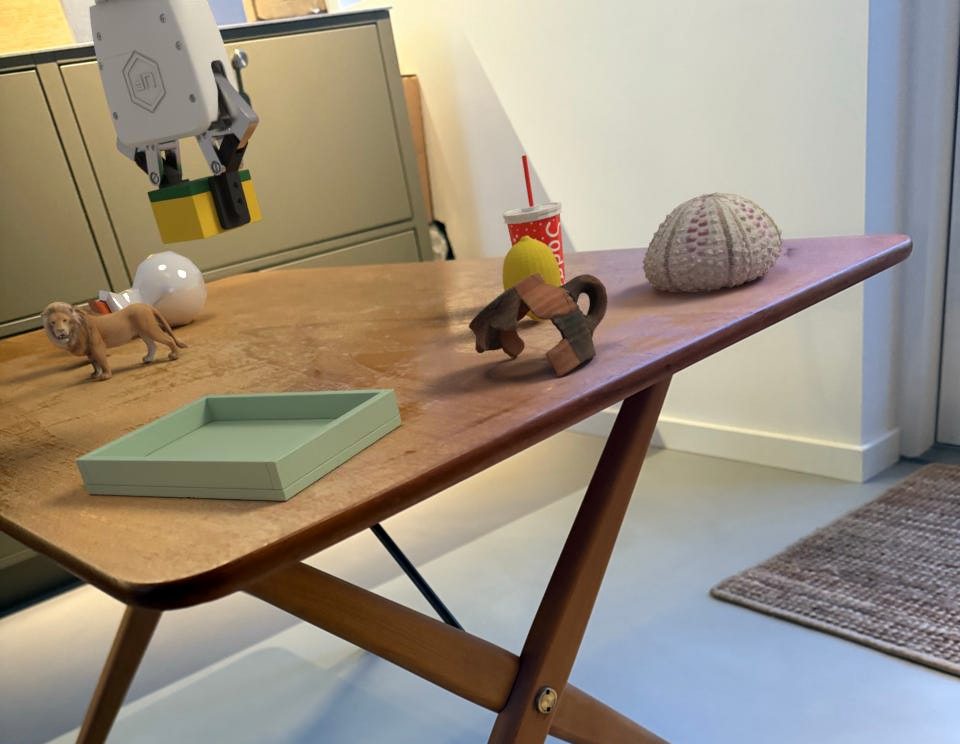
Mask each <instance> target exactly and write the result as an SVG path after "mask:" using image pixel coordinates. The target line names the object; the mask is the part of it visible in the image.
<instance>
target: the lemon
mask: <svg viewBox="0 0 960 744" xmlns="http://www.w3.org/2000/svg"><path fill="white" fill-rule="evenodd" d="M536 273H540V274H541V276H542V278H543V280H544V281H545V283H547V284H550V285H555V286H557V287H559V286H561V275H560V270H559V266H558V263H557V261H556V258H555V256H554V254H553V252H552V251H551V249H550V248H549V247H548V246H547V245H545V244H544V243H542V242H540V241H538V240H534V239H531V238H530V237H529V236H524V237H522V238H521V239H520V241H519V242H518V243H516V244H515V245H514V246H513V247H512V246H511V247H510V249H509V250H508V252H507V253H506V255H505V258H504V259H503V265H502V286H503V290H504V291H503V292H505V291H506V290H508V289H509V288H512V287H513V286H514V285H516V284H517V283H518V282H520V281H522V280H523V279H525V278H527V277H528V276H531V275H533V274H536ZM526 316H527V317H529V318H530V319H531V320H532V321H534V322H537V323H538V322H540V321H541V322H542V319H540V318H538V317H537V316H535V315H533V314H532V313H531V311H529V312H528V313H527V314H526ZM526 316H525V317H526Z"/></svg>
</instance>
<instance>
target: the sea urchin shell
mask: <svg viewBox="0 0 960 744" xmlns="http://www.w3.org/2000/svg"><path fill="white" fill-rule="evenodd" d="M782 234H783V231H782V230H781V229H779V225H778V223H776V222H775V221H774V219H773V218H772V217H771V216H770V214H769V213H768V212H766V210H765V209H764V208H762V207H761V206H760V205H758V204H757V203H755V202H754V201H752V200H751V199H748V198H746V197H745V196H742V195H738V194H734V193H733V194H732V193H728V192H727V193H726V192H716V191H715V192H713V193H706V194H705V193H704V194H703V193H702V194H701V195H699V196H696V197H692V198H691V199H689V200H686V201H684V202H682V203H680V204H678V205H677V207H675V208H673V210H672V211H671V212H670V213H669V214H666V215H665V219H664V221H663V222H661V223H659V224H658V229H657V231H656V232H653V237H652V239H651V240H650V242H649V244H648V248H647V250H646V252H645V253H644V258H643V260H642V264H643V266H642V269H643V272H644V274H645V275H644V278H645V279H647V281H648V283H649V284H651V285H652V286H654V288H656V290H661V291H662V292H663V291H666V290H667V291H668V292H670V293H672V292H677V293H680V292H689V293H693V292H694V293H697V292H699V293H700V292H703V291H707V292H711V291H715V290H720V288H724V287H727V288H733V287H734V286H737V287H738V286H740V285H743V284H744V282H747V283H749V282H751V281H755V280H756V279H757V278H758V277H762V276H763V274H768V273H769V270H770V268H772V267H774V266H776V261H777V260H778V258H779V257H780V256H781V255H780V253H781V252H782V251H783V249H782V245H783V244H784V243H783V242H784V241H785V240H784V239H783V237H782Z"/></svg>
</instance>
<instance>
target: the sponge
mask: <svg viewBox="0 0 960 744" xmlns="http://www.w3.org/2000/svg"><path fill="white" fill-rule="evenodd" d="M238 172H239V175H240V179H241V183H242V187H243V190H244V194H245V198H246V201H247V205H248V209H249V213H250V217H251V221H250V223H248V224H245V225H242V226H239V227H235V228H232V229H228V230H224V229H223V228H222V227H221V225H220V222H219V218H218V215H217V211H216V208H215V204H214V201H213V197H212V193H211V191H210V186H209V183H208V177H212V176H214V174H212V175H207V176H203V177H199V178H195V179H193V180H189V181H188V182H184V183H180V184H176V185H173V186H169V187H165V188H161V189H159V188H158V189H154V190H149V191H147V196H148V199H149V202H150V206H151V210H152V213H153V217H154V219H155V222H156V225H157V229H158V233H159V236H160V239H161V243H162V244H163V245H168V244H175V243H176V244H177V243H183V242H191V241H199V240H204V239H209V238H211V237H215V236H217V235H220V234H224V233H226V232H230V231H232V230H236V229H239V228H242V227H245V226H248V225H252V224H255V223H258V222H260V221H263V218H262V214H261V210H260V207H259V202H258V198H257V194H256V191H255V187H254V183H253V180H252V176H251V173H250V169H241V170H238Z"/></svg>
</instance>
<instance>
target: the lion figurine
mask: <svg viewBox="0 0 960 744" xmlns="http://www.w3.org/2000/svg"><path fill="white" fill-rule="evenodd" d="M40 318H41V320H42V327H43V329H44V331H45V334H46V337H47V339H48V340H49V341H50V342H51V344H53V346H54V347H56V348H57V349H60V350H66V351H67V352H68V353H70V354H72V356H73V355H74V356H75V357H78V358H79V357H87V360H88V361H89V362H91V363H90V364H91V365H92V368H93V371H94V372H92V373H91V374H90V378H92V379H97V378H99V380H100V381H106V380H109V379H111V377H112V368H111V366H110V365H109V362H108V357H107V350H108V349H112V348H118V347H121V346H124V345H125V344H127V343H128V342H130V341H131V340H132V338H133V337H134V336H135V335H137V336H138V337H139V338H140V339H141V341H143V342H144V343H145V345H146V347H147V354H146V355H145V356H143V357H142V363H148V362H152V361H153V360H154V359H155V355H156V351H157V348H158V346H157V343H159V344H162V345H165V346H166V347H168V348H169V349H170V351H171V352H169V353H168V355H167V358H168V359H169V360H176V359H179V357H180V356H181V355H180V351H179V349H187V348H189V346H188V344H185V343H184V342H182V341H181V342H180V340H178V339H177V337H176V336H175V334H174V332H173V330H172V327H171V328H170V327H169V325H168V323H167V322H166V320H165V319H164V317H163V316H162V315H161V314H160V313H159V311H157V310H156V309H155V308H154V307H152V306H150V305H148V304H144V303H133V304H130V305H128V306H127V307H125V308H123V309H121V310H119V311H117V312H114V313H111V314H107V315H103V314H101V313H96V312H94V311H92V310H91V309H90V308H88V307H85V306H84V307H83V306H77V305H75V306H74V305H73V304H71V303H68V302H63V301H55V302H52V303H49V304H48V305H46V306H45V308H44V309H43V311H42V312H40ZM155 318H157V319H158V320H159V322H160V323H161V324H160V323H158V322H156V319H155ZM159 324H160V325H161V326H162V327H163V329H164V330H165V332H164V331H163V330H162V328H161V326H159Z"/></svg>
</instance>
